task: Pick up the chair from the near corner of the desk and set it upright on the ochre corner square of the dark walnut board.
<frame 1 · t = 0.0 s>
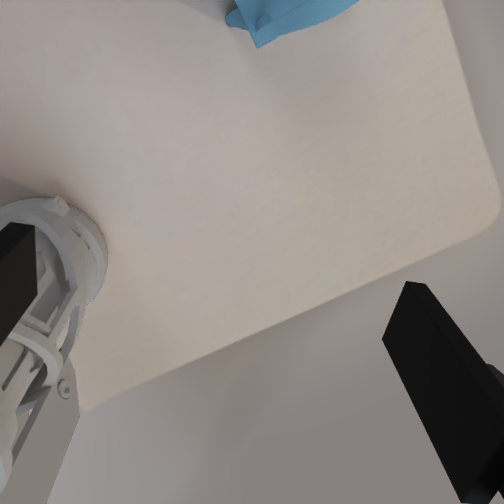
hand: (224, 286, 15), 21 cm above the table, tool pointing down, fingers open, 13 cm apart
lantern: (60, 259, 38), on the table
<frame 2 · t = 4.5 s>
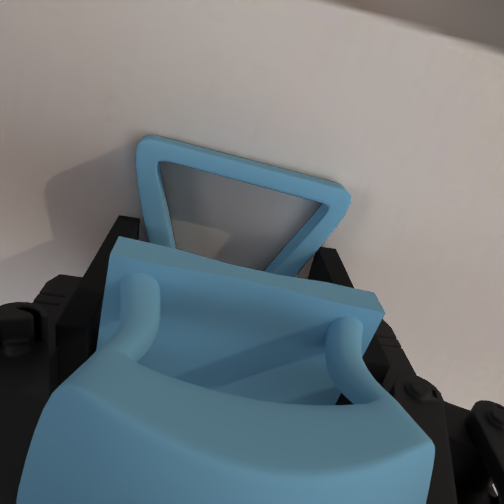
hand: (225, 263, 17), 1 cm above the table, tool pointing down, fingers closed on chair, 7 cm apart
chair: (222, 253, 17), on the table, touching gripper
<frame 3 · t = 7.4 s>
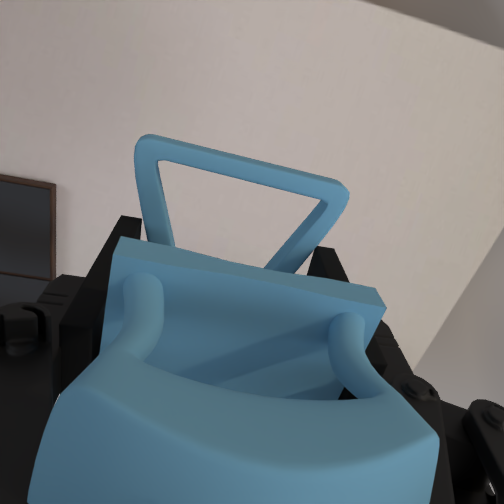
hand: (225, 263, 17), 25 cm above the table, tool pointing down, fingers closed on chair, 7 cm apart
chair: (221, 251, 18), point 24 cm above the table, touching gripper
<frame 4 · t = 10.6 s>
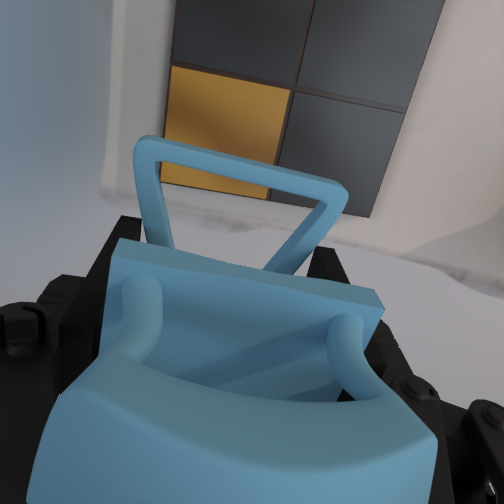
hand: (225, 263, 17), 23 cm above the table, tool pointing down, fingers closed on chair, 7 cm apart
board: (291, 86, 36), on the table
chair: (220, 252, 18), point 23 cm above the table, touching gripper
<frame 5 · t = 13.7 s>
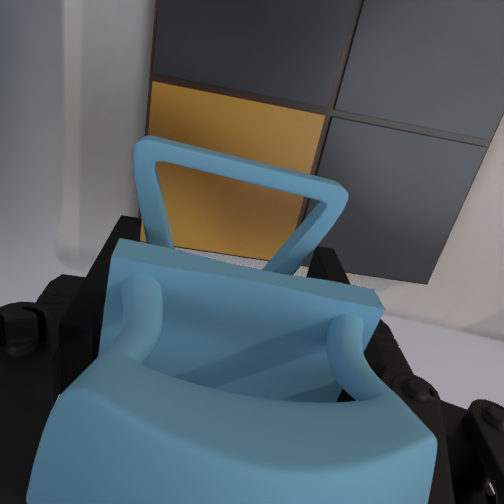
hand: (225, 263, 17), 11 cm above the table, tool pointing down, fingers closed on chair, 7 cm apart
board: (325, 108, 25), on the table
chair: (220, 252, 18), point 10 cm above the table, touching gripper
when the fingers open (2 cm above the table, at t = 16.5 s): chair stays where it is, resting on board.
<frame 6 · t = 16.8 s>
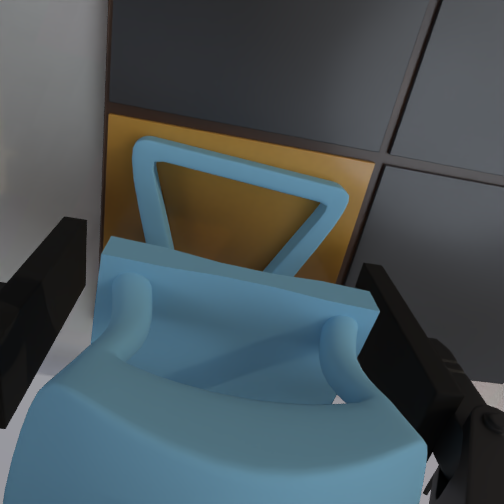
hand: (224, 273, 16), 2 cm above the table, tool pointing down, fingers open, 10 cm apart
board: (372, 150, 17), on the table
chair: (220, 254, 17), point 1 cm above the table, touching board
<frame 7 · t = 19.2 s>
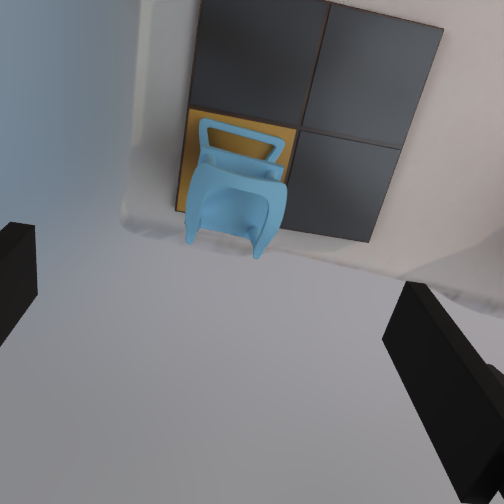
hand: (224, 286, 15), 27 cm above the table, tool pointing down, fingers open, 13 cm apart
board: (297, 125, 39), on the table
chair: (232, 170, 40), point 1 cm above the table, touching board
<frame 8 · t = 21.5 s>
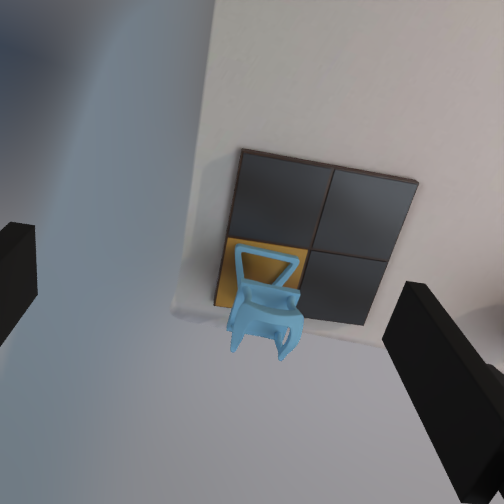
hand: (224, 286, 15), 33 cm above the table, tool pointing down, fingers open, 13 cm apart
board: (308, 244, 52), on the table
chair: (258, 277, 52), point 1 cm above the table, touching board
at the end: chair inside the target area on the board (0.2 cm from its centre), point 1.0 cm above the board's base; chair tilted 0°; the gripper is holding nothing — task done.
